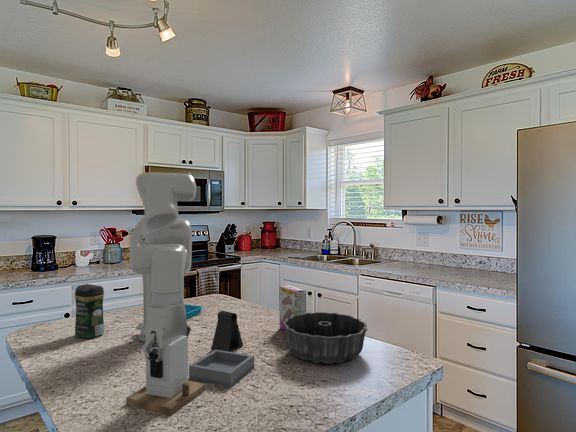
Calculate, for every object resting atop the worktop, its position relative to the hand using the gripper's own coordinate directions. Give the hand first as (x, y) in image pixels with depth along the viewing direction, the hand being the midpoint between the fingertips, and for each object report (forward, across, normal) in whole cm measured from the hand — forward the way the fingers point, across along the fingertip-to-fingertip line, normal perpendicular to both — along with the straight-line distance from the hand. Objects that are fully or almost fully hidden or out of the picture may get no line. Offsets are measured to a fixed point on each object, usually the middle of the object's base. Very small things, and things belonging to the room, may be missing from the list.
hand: (168, 369), depth 94 cm
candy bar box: (+7, -59, +9) cm, 60 cm away
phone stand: (+7, -34, -4) cm, 35 cm away
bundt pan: (+7, -42, +27) cm, 50 cm away
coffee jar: (+7, -26, -57) cm, 63 cm away
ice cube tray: (+7, -59, -43) cm, 73 cm away
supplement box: (+5, 0, 0) cm, 5 cm away
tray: (+7, -17, +5) cm, 19 cm away
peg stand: (+6, 0, 0) cm, 6 cm away
